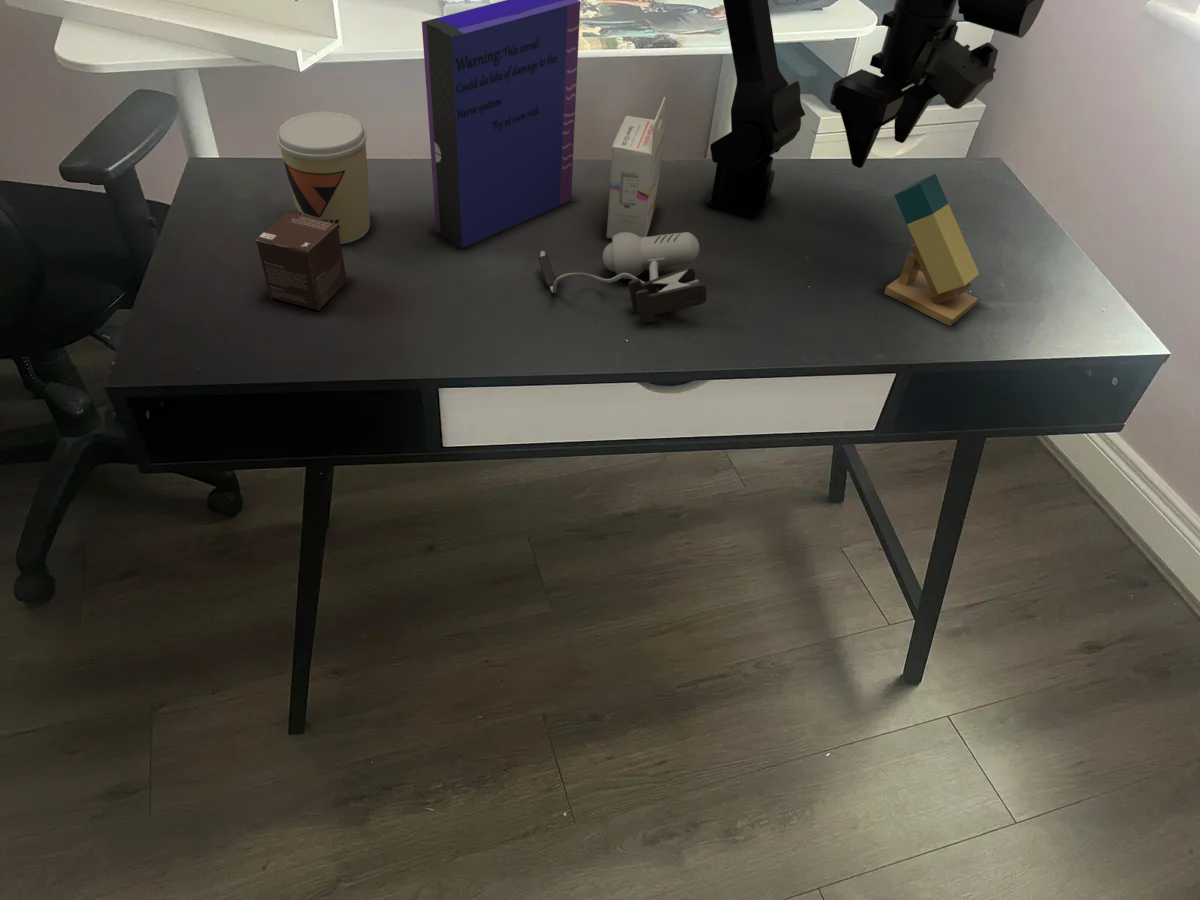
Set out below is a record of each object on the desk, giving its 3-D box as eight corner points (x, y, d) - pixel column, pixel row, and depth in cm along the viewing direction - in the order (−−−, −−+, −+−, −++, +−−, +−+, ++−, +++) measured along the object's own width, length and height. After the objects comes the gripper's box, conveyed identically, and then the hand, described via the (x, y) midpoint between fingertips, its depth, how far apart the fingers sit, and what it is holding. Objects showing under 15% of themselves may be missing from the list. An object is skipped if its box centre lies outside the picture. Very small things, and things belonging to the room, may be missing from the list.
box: (349, 283, 99) (339, 223, 94) (319, 313, 95) (307, 252, 89) (299, 270, 100) (288, 210, 95) (268, 299, 96) (253, 238, 91)
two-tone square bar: (872, 262, 104) (900, 175, 97) (887, 251, 106) (916, 165, 99) (957, 303, 99) (993, 215, 92) (971, 291, 101) (1008, 204, 94)
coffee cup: (278, 236, 104) (257, 136, 96) (325, 199, 111) (309, 103, 102) (348, 256, 102) (333, 156, 94) (392, 218, 109) (381, 121, 100)
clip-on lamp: (542, 339, 99) (709, 319, 96) (530, 294, 94) (704, 272, 91) (547, 270, 106) (701, 250, 104) (535, 225, 101) (696, 203, 99)
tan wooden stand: (883, 293, 104) (900, 244, 99) (910, 274, 107) (927, 225, 103) (949, 326, 100) (970, 277, 95) (975, 305, 103) (995, 257, 99)
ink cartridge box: (617, 203, 114) (627, 88, 104) (655, 210, 114) (669, 94, 104) (603, 238, 108) (612, 119, 98) (644, 245, 108) (658, 126, 98)
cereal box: (545, 186, 116) (550, -14, 100) (571, 201, 114) (580, -1, 97) (436, 232, 107) (421, 19, 90) (462, 249, 105) (451, 34, 88)
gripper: (953, 56, 82) (900, 210, 93) (1039, 11, 92) (982, 155, 103) (848, 18, 87) (809, 169, 98) (940, -20, 97) (896, 120, 108)
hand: (878, 153), depth 101 cm, fingers open, 9 cm apart
